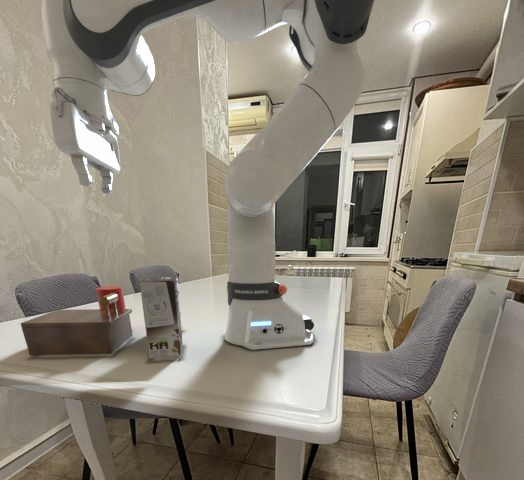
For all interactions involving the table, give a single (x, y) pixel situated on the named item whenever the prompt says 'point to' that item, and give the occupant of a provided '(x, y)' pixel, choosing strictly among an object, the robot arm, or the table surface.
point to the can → (108, 290)
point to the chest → (77, 338)
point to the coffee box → (162, 316)
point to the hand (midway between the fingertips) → (98, 190)
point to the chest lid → (82, 316)
